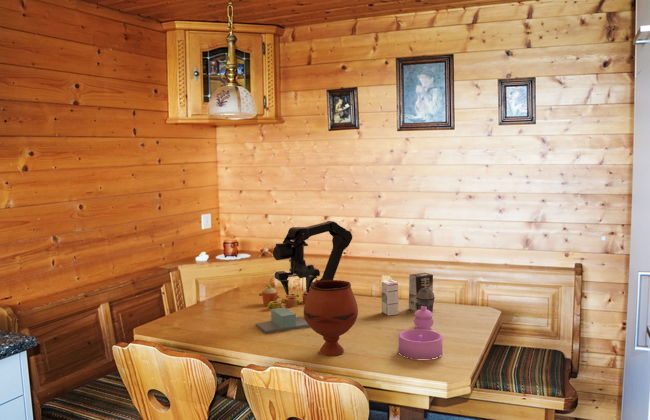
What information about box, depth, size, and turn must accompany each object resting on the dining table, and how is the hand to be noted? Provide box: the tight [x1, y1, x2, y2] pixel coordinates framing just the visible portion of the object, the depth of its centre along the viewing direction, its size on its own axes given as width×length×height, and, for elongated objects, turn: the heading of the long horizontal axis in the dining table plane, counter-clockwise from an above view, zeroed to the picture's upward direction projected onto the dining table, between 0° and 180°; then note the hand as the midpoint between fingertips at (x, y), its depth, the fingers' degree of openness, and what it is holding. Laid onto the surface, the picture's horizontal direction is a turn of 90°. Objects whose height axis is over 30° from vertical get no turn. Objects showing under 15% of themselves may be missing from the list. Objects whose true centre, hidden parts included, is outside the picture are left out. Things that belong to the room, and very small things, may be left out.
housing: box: [270, 306, 297, 328], centre depth 237 cm, size 6×12×5 cm, turn 26°
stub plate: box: [255, 316, 311, 335], centre depth 237 cm, size 20×12×4 cm, turn 117°
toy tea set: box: [258, 285, 308, 311], centre depth 272 cm, size 26×16×10 cm, turn 125°
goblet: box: [303, 279, 359, 357], centre depth 204 cm, size 19×19×25 cm
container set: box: [398, 306, 443, 360], centre depth 208 cm, size 25×15×13 cm, turn 166°
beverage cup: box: [417, 278, 436, 319], centre depth 235 cm, size 7×7×20 cm
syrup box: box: [381, 279, 399, 316], centre depth 254 cm, size 6×6×14 cm
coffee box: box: [408, 272, 434, 313], centre depth 260 cm, size 9×6×16 cm
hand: (297, 294), depth 242 cm, fingers open, 9 cm apart
